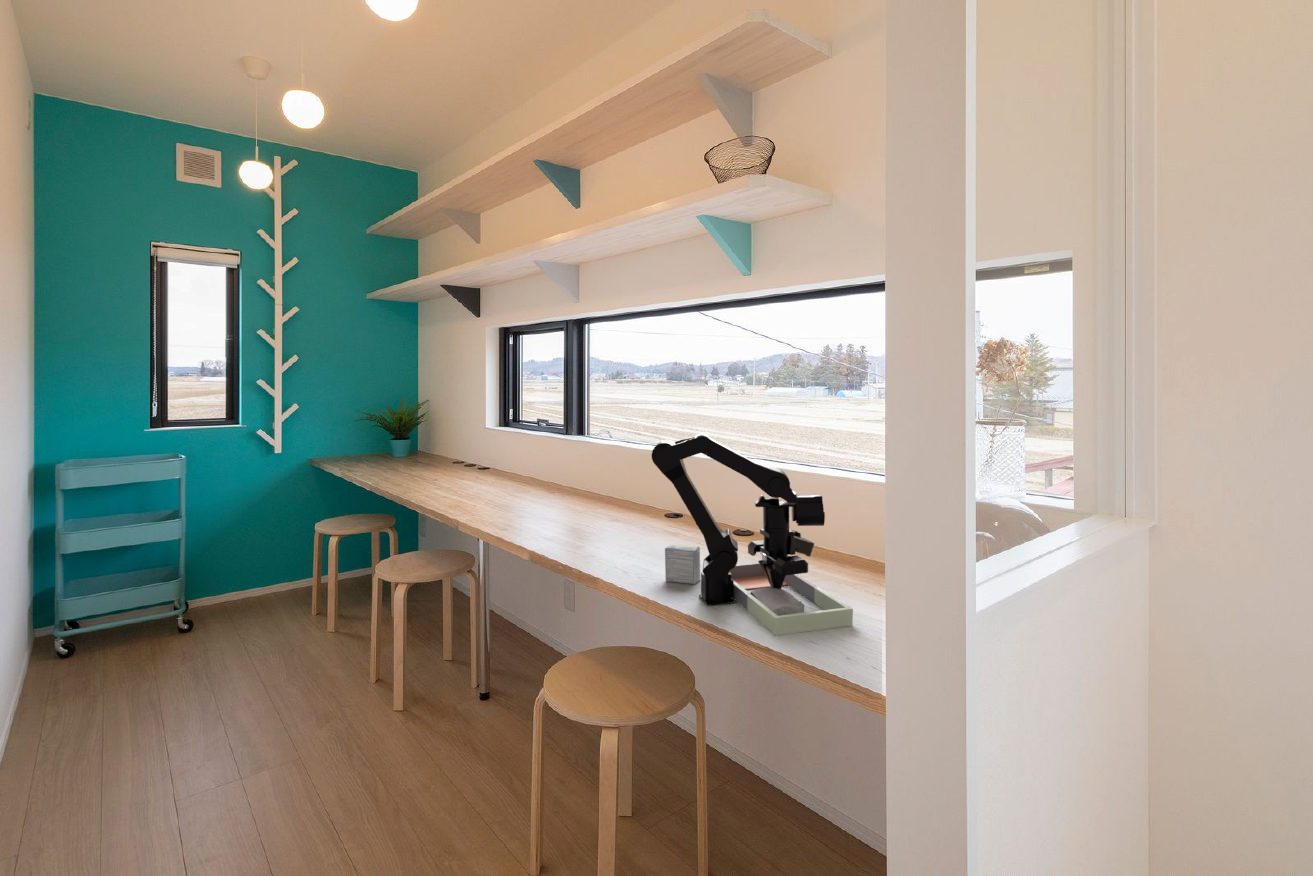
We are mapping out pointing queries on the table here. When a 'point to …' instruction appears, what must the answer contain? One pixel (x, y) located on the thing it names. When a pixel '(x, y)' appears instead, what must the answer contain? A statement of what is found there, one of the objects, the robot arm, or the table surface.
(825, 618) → the open tray box
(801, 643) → the table surface
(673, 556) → the medicine box
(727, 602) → the robot arm
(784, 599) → the stone block
